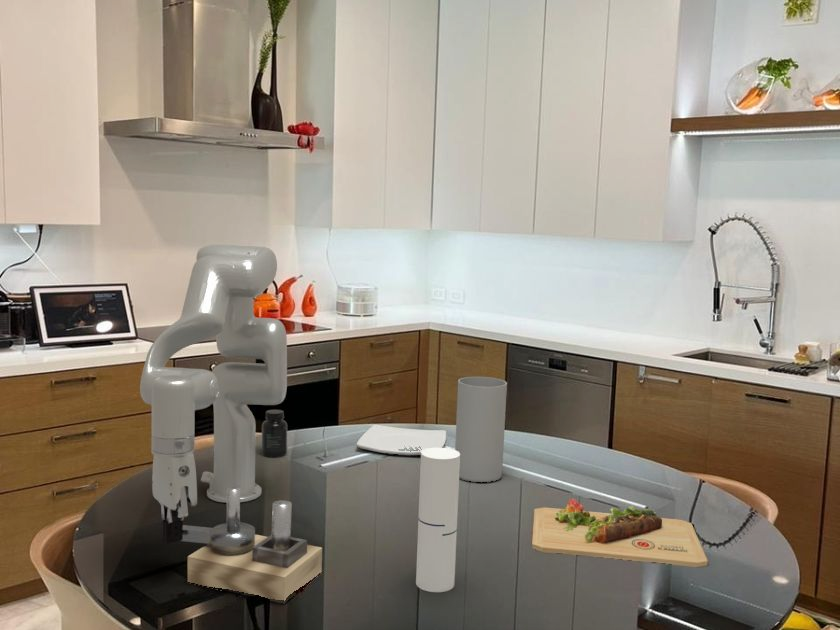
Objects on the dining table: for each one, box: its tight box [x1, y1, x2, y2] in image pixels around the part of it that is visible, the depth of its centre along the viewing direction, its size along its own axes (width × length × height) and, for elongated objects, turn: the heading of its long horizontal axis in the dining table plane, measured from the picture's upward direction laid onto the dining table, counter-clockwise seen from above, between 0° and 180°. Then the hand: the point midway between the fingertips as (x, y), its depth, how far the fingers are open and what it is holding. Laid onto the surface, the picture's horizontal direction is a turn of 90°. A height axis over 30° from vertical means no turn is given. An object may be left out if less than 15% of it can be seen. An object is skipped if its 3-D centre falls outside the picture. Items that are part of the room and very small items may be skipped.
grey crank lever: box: [180, 487, 256, 555], centre depth 158 cm, size 8×17×11 cm, turn 82°
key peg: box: [271, 500, 293, 552], centre depth 154 cm, size 3×3×10 cm
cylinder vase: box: [454, 376, 508, 484], centre depth 219 cm, size 12×12×25 cm
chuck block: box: [187, 533, 323, 601], centre depth 156 cm, size 20×14×8 cm
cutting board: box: [531, 498, 709, 568], centre depth 182 cm, size 35×23×8 cm
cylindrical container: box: [415, 447, 460, 593], centre depth 155 cm, size 7×7×25 cm
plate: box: [356, 424, 447, 456], centre depth 246 cm, size 24×24×3 cm
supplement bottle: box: [261, 409, 288, 459], centre depth 231 cm, size 7×7×12 cm
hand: (172, 540), depth 156 cm, fingers closed
